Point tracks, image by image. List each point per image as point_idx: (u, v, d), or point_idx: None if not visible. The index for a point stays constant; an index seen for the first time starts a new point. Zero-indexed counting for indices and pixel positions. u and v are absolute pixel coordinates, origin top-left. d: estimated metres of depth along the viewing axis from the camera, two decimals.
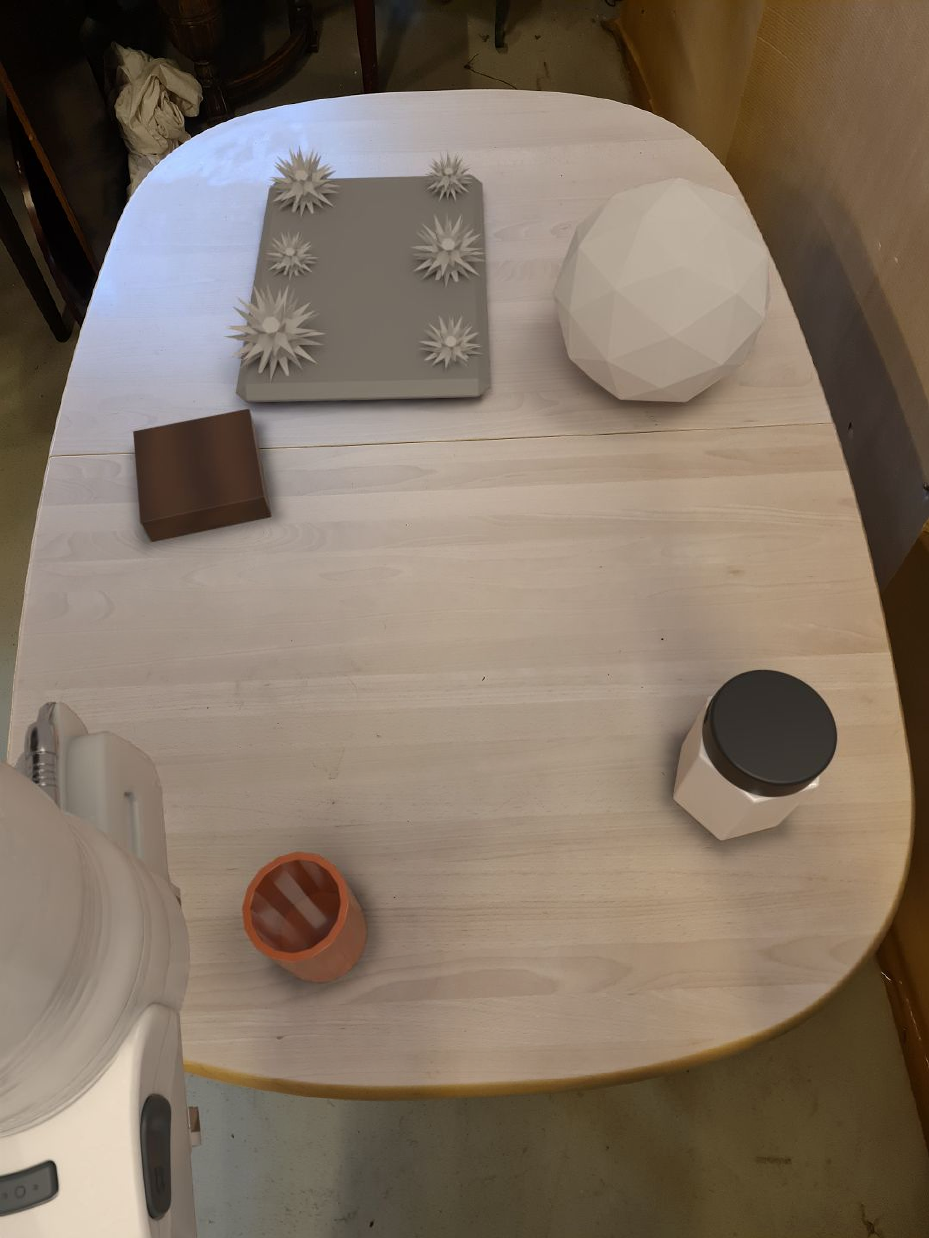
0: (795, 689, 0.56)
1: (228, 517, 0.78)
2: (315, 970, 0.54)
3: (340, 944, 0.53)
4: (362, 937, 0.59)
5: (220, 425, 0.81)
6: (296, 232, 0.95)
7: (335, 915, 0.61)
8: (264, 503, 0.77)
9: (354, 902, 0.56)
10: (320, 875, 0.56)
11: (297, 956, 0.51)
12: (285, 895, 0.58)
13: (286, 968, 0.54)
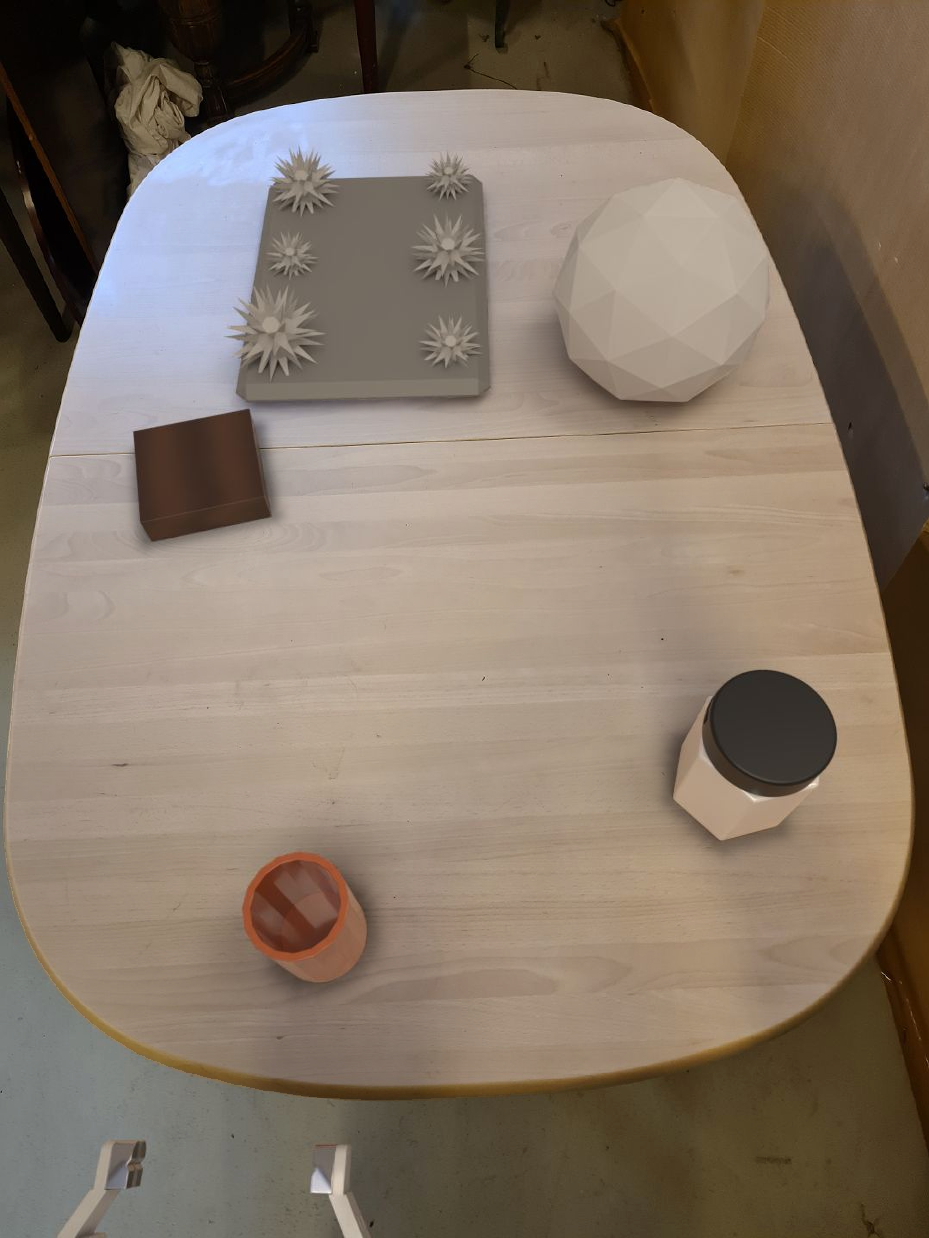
0: (795, 689, 0.56)
1: (228, 517, 0.78)
2: (315, 970, 0.54)
3: (340, 944, 0.53)
4: (362, 937, 0.59)
5: (220, 425, 0.81)
6: (296, 232, 0.95)
7: (335, 915, 0.61)
8: (264, 503, 0.77)
9: (354, 902, 0.56)
10: (320, 875, 0.56)
11: (297, 956, 0.51)
12: (285, 895, 0.58)
13: (286, 968, 0.54)
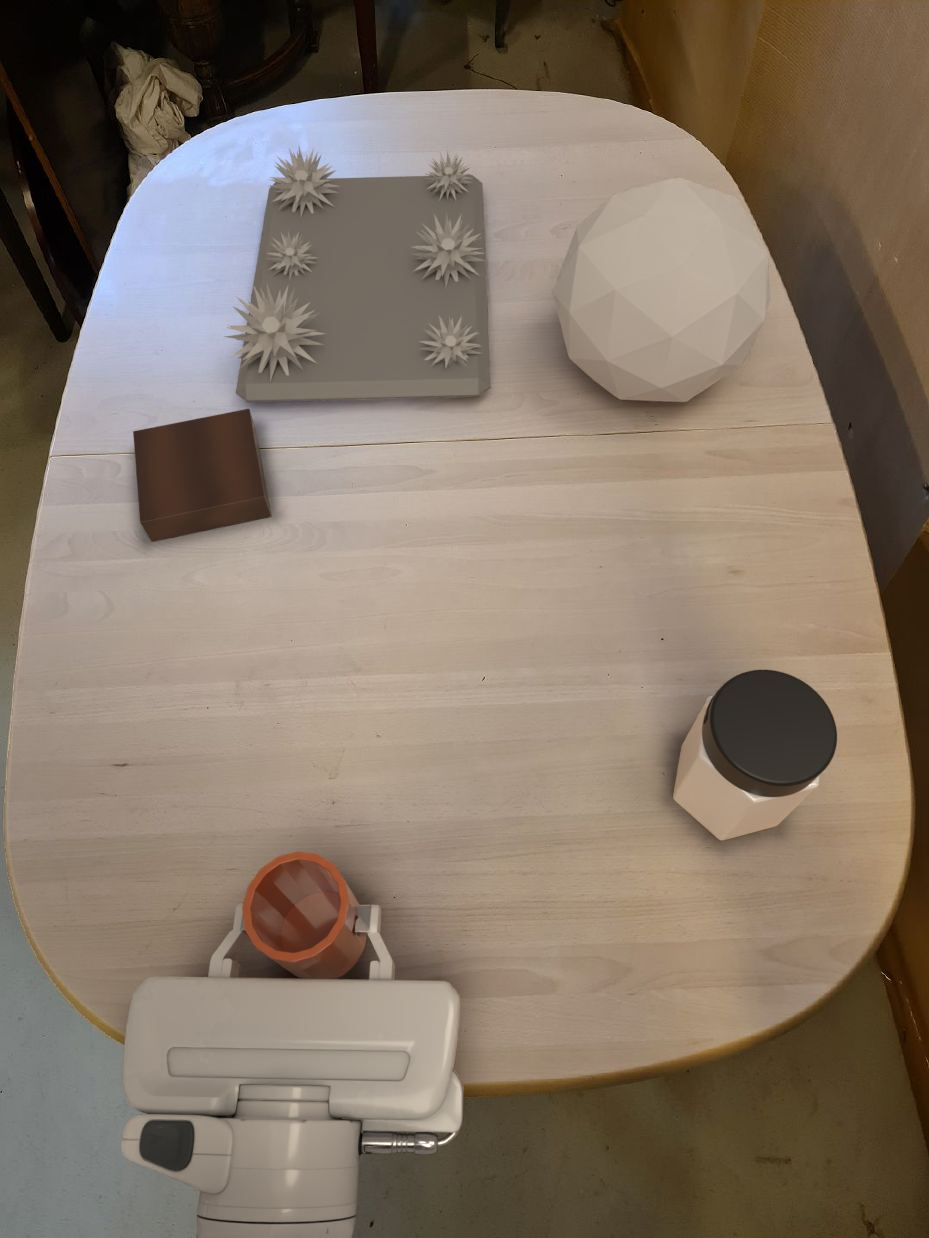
0: (795, 689, 0.56)
1: (228, 517, 0.78)
2: (315, 970, 0.54)
3: (340, 944, 0.53)
4: (362, 937, 0.59)
5: (220, 425, 0.81)
6: (296, 232, 0.95)
7: (335, 915, 0.61)
8: (264, 503, 0.77)
9: (354, 902, 0.56)
10: (320, 875, 0.56)
11: (297, 956, 0.51)
12: (285, 895, 0.58)
13: (286, 968, 0.54)
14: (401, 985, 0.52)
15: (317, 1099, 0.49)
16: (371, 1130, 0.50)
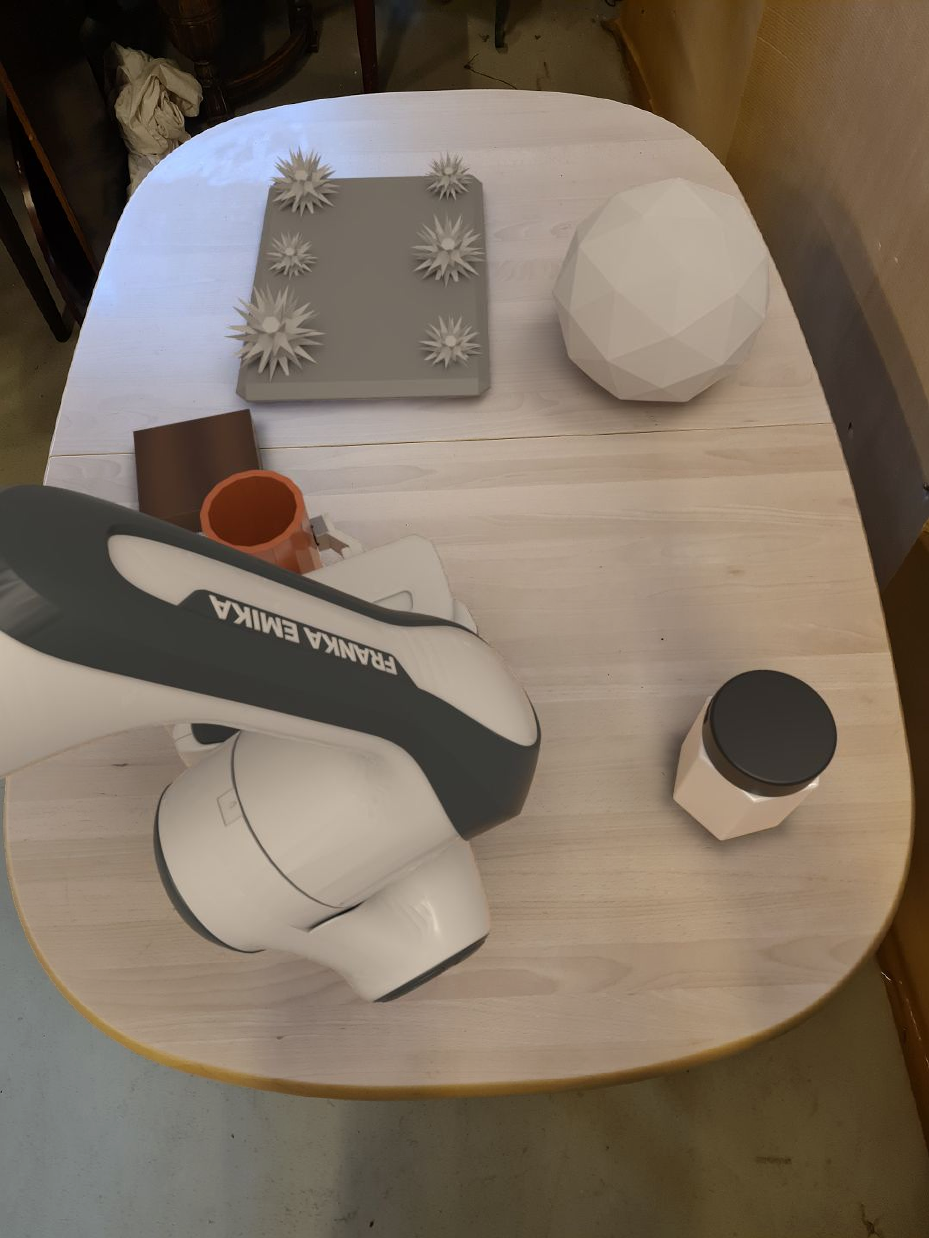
0: (795, 689, 0.56)
1: None
2: None
3: (308, 538, 0.55)
4: None
5: (220, 425, 0.81)
6: (296, 232, 0.95)
7: None
8: None
9: None
10: (262, 511, 0.58)
11: (273, 542, 0.52)
12: None
13: None
14: (377, 549, 0.55)
15: None
16: None
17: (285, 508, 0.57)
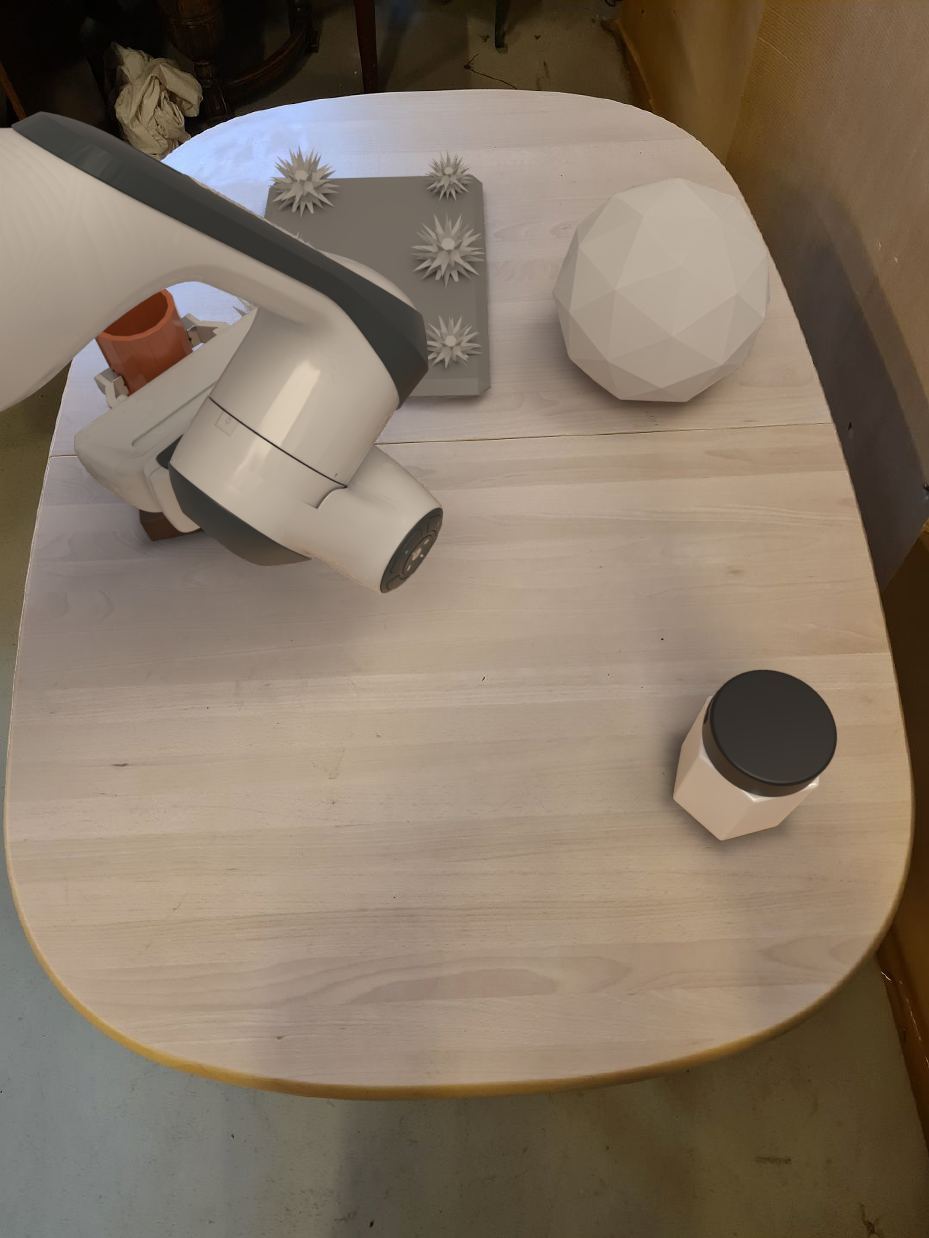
0: (795, 689, 0.56)
1: None
2: None
3: (183, 326, 0.66)
4: None
5: None
6: (296, 232, 0.95)
7: None
8: None
9: None
10: (133, 328, 0.68)
11: (160, 324, 0.63)
12: None
13: None
14: (242, 318, 0.67)
15: None
16: None
17: (152, 317, 0.67)
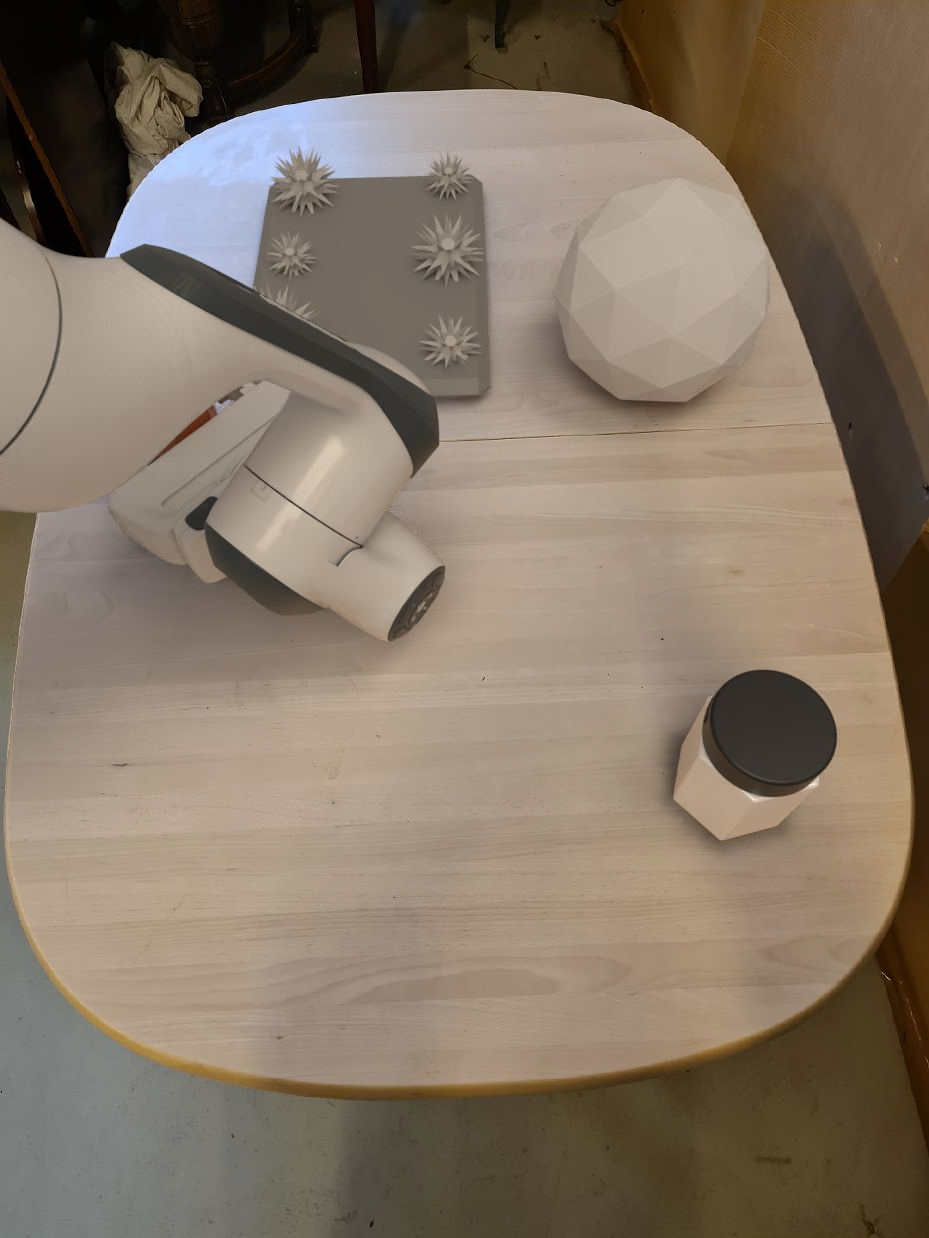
0: (795, 689, 0.56)
1: None
2: None
3: None
4: None
5: None
6: (296, 232, 0.95)
7: None
8: None
9: None
10: None
11: None
12: None
13: None
14: (260, 384, 0.73)
15: None
16: None
17: None
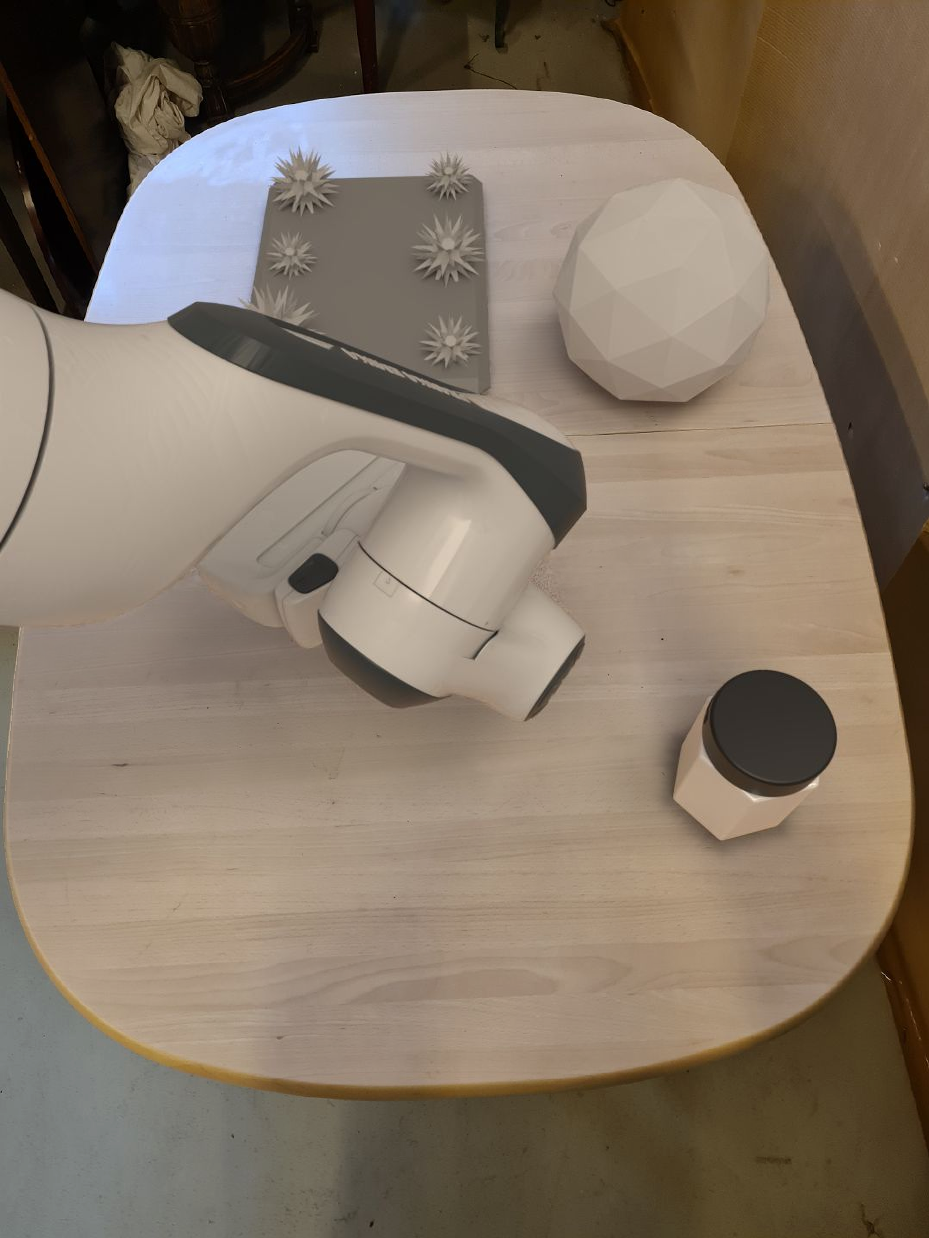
0: (795, 689, 0.56)
1: None
2: None
3: None
4: None
5: None
6: (296, 232, 0.95)
7: None
8: None
9: None
10: None
11: None
12: None
13: None
14: None
15: None
16: None
17: None
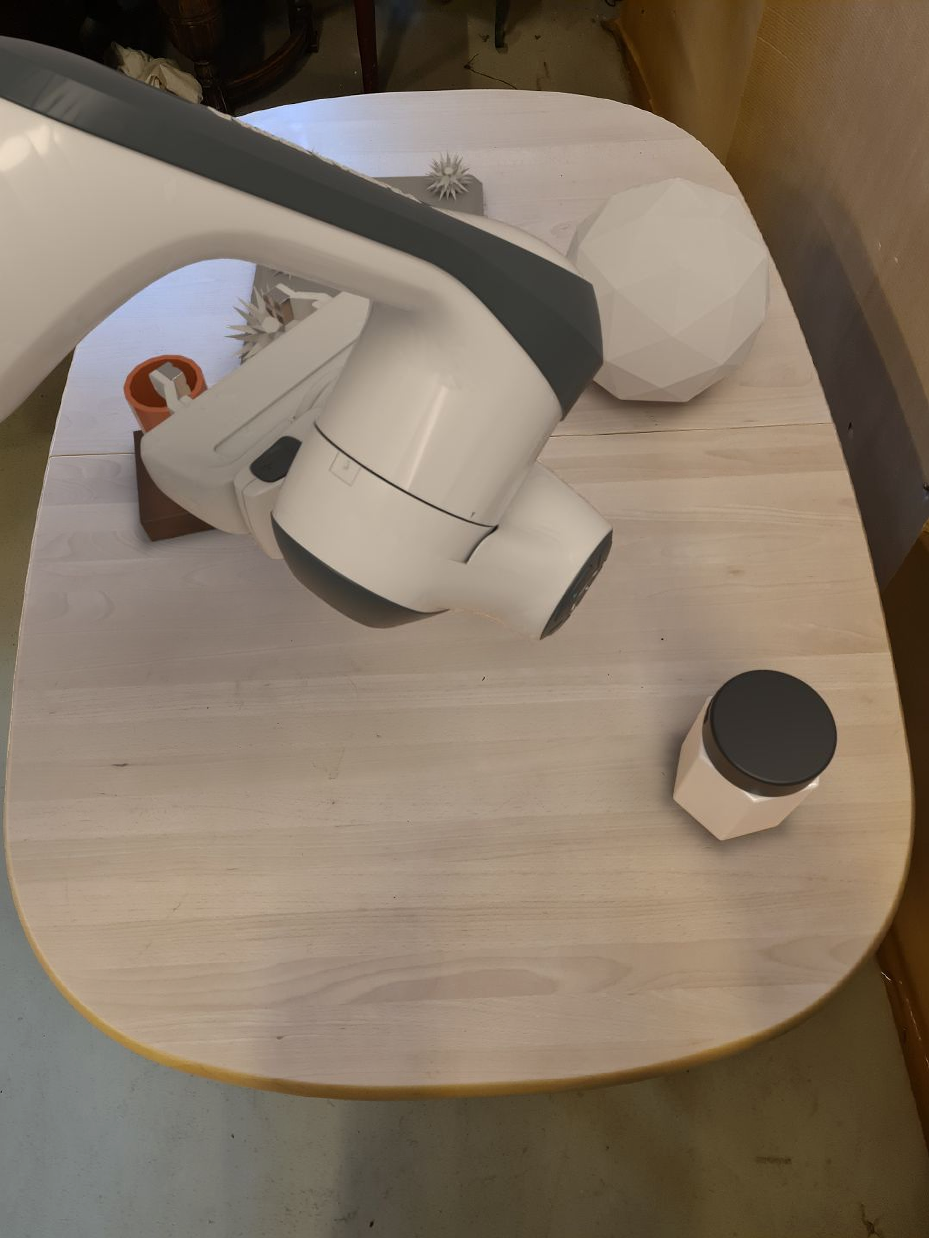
0: (795, 689, 0.56)
1: None
2: None
3: None
4: None
5: None
6: None
7: None
8: None
9: None
10: None
11: (190, 396, 0.69)
12: None
13: None
14: (340, 295, 0.54)
15: None
16: None
17: None
